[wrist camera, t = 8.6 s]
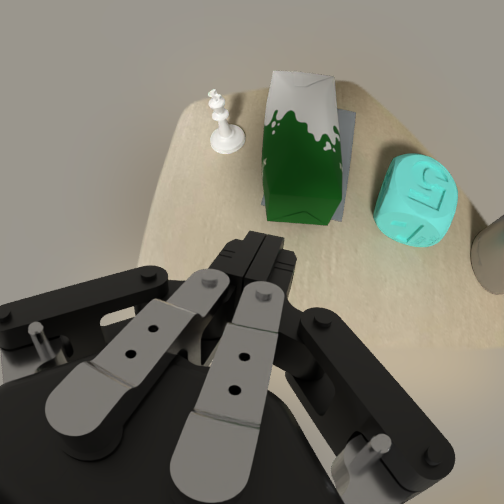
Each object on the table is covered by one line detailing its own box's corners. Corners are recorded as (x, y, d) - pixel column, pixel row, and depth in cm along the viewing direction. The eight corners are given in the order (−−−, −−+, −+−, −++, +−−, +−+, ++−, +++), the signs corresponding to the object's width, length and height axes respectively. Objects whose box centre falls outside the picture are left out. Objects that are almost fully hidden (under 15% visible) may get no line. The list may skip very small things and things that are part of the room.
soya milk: (353, 197, 28) (337, 63, 34) (258, 188, 29) (268, 56, 34) (333, 229, 37) (326, 106, 43) (257, 223, 37) (266, 100, 43)
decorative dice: (367, 230, 36) (385, 201, 29) (383, 177, 38) (400, 142, 30) (424, 254, 35) (453, 231, 27) (435, 200, 36) (461, 170, 29)
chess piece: (232, 159, 41) (217, 110, 32) (203, 146, 42) (184, 98, 33) (252, 134, 42) (242, 83, 32) (224, 122, 43) (209, 73, 34)
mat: (355, 113, 41) (355, 112, 41) (341, 221, 37) (341, 221, 37) (289, 101, 43) (289, 100, 43) (261, 205, 39) (261, 204, 38)
